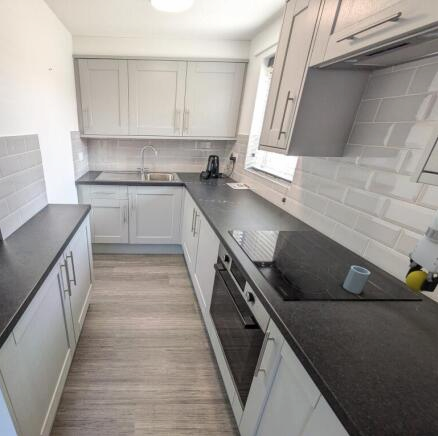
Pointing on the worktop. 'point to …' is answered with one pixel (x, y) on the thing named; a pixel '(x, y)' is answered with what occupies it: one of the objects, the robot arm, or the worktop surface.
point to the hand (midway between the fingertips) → (418, 284)
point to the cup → (356, 279)
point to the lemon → (416, 280)
